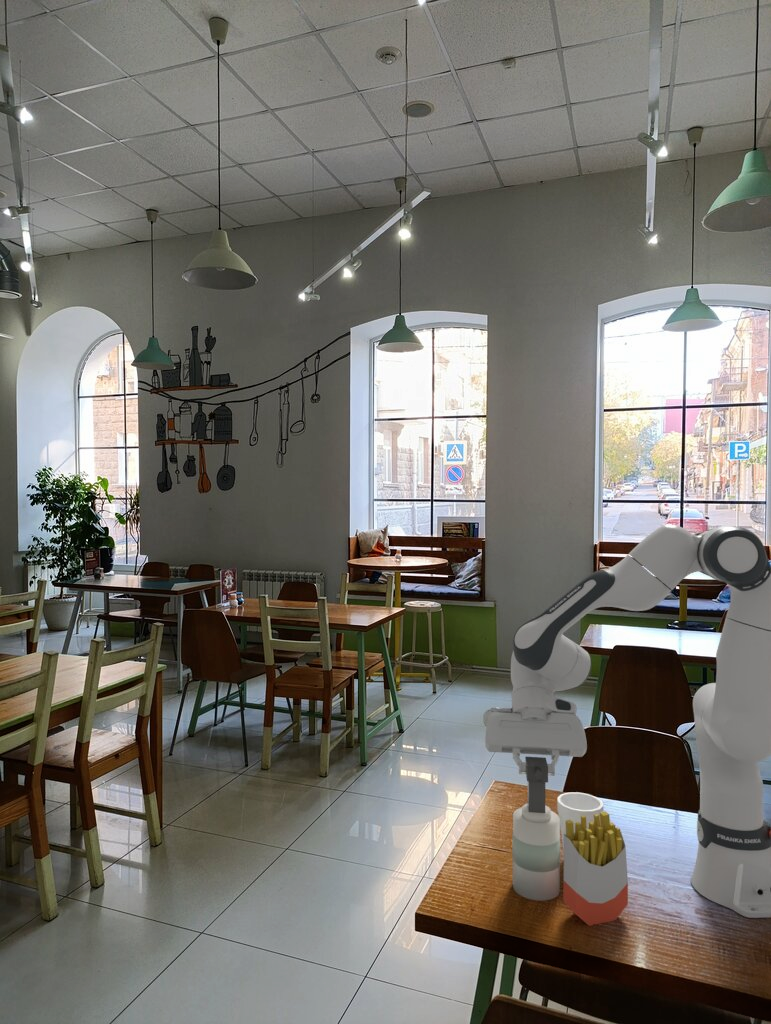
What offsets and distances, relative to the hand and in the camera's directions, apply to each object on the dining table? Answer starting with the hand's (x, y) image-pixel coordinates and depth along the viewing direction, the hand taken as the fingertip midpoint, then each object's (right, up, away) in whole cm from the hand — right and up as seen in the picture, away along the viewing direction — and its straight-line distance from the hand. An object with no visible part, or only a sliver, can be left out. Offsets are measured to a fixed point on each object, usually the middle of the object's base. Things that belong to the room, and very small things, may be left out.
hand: (536, 773), depth 131 cm
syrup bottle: (0, -23, +1) cm, 23 cm away
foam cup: (+11, -23, +10) cm, 28 cm away
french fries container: (+9, -23, -9) cm, 26 cm away
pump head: (0, -7, -1) cm, 7 cm away
